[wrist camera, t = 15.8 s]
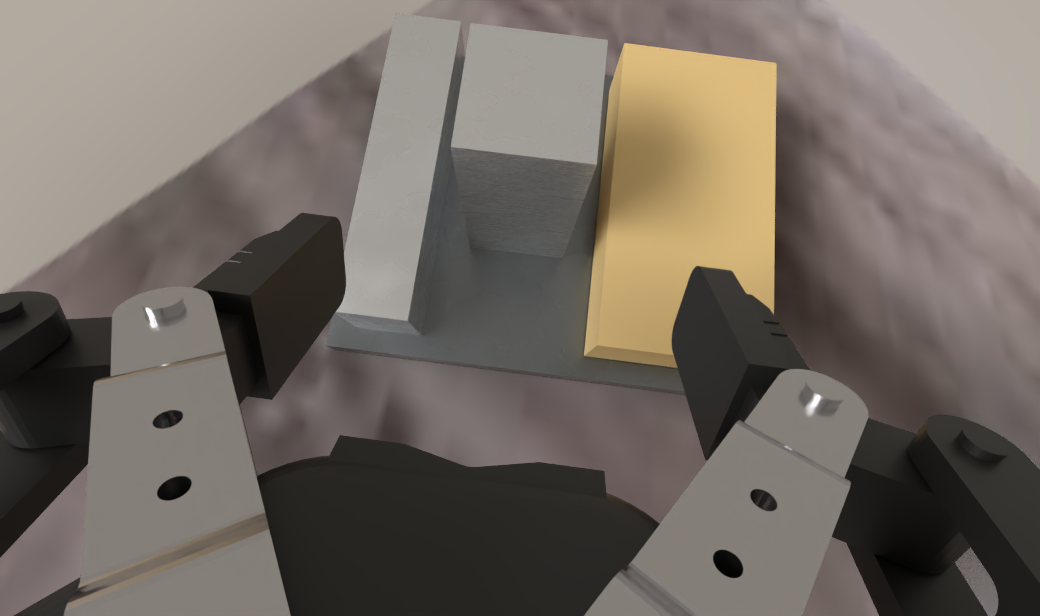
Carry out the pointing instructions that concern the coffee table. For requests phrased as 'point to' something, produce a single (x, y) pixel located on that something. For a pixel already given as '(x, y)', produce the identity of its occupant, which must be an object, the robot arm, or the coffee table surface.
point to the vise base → (459, 244)
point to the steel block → (526, 136)
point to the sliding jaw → (680, 193)
